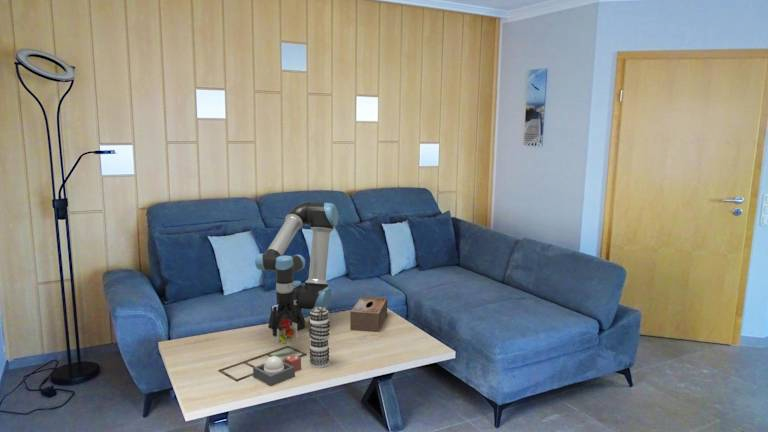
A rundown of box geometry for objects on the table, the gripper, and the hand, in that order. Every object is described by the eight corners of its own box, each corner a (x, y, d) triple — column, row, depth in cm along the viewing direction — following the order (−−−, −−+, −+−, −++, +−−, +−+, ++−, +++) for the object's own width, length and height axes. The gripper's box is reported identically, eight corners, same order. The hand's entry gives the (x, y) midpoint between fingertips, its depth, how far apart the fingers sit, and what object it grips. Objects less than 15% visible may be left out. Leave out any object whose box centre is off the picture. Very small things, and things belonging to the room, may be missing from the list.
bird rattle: (286, 343, 251) (270, 340, 245) (294, 319, 252) (278, 315, 246) (294, 347, 246) (278, 344, 240) (302, 323, 248) (286, 319, 242)
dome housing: (253, 376, 226) (252, 363, 225) (288, 363, 239) (288, 351, 238) (270, 386, 218) (270, 372, 217) (306, 371, 231) (306, 359, 230)
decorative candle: (321, 370, 233) (320, 313, 229) (304, 364, 237) (303, 309, 233) (334, 362, 240) (334, 307, 236) (317, 357, 245) (317, 303, 241)
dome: (260, 374, 226) (259, 357, 225) (276, 368, 232) (275, 351, 230) (271, 380, 221) (271, 362, 219) (287, 374, 226) (287, 356, 225)
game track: (218, 371, 231) (218, 369, 231) (288, 346, 257) (288, 345, 257) (236, 381, 222) (236, 380, 222) (306, 354, 248) (306, 353, 248)
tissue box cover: (361, 313, 303) (361, 296, 302) (387, 315, 301) (387, 297, 299) (350, 330, 278) (350, 311, 277) (378, 332, 276) (378, 313, 274)
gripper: (269, 298, 233) (270, 348, 236) (309, 287, 249) (310, 335, 252) (258, 294, 238) (260, 344, 241) (299, 284, 254) (299, 331, 257)
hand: (285, 339), depth 247 cm, fingers closed on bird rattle, 9 cm apart
